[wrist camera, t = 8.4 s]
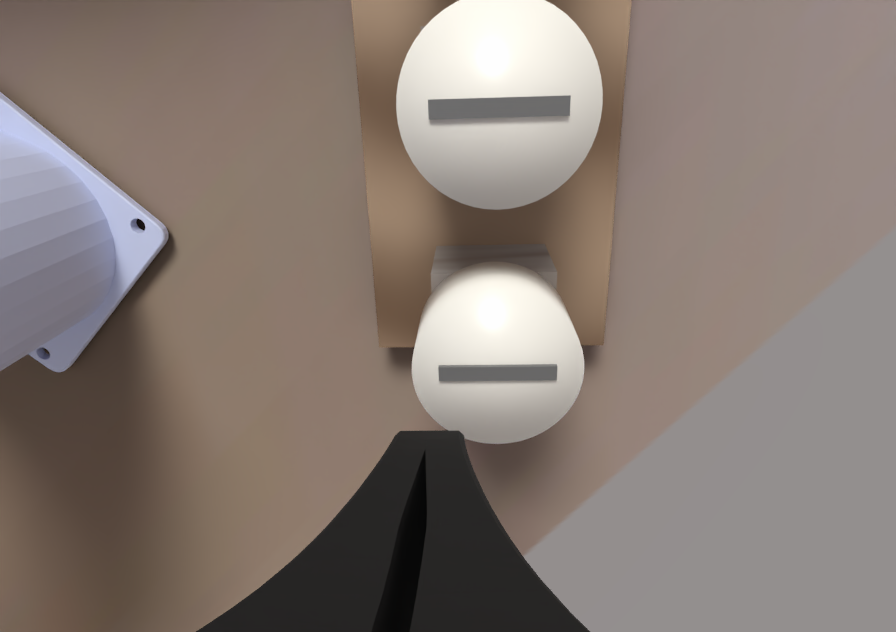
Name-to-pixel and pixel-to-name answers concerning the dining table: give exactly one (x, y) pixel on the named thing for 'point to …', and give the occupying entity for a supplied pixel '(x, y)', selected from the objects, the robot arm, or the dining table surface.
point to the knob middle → (499, 101)
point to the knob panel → (475, 229)
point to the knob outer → (496, 354)
